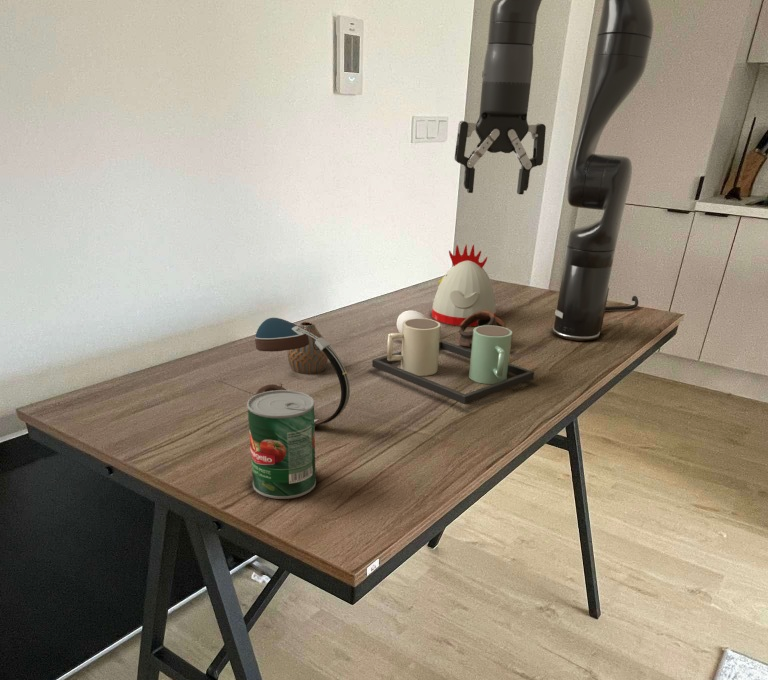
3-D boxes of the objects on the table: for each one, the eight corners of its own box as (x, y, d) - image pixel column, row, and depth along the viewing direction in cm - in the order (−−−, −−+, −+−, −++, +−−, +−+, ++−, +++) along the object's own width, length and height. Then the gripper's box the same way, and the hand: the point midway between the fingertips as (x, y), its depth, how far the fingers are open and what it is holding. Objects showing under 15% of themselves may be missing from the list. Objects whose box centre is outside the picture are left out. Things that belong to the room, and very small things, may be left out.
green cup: (464, 371, 122) (468, 325, 118) (499, 370, 123) (505, 324, 119) (479, 391, 114) (484, 342, 110) (517, 389, 116) (523, 341, 111)
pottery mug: (516, 361, 132) (500, 325, 127) (468, 377, 135) (452, 344, 130) (512, 326, 140) (498, 291, 135) (468, 343, 144) (452, 310, 139)
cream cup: (430, 362, 126) (433, 317, 121) (442, 374, 120) (446, 328, 116) (381, 365, 123) (382, 319, 119) (392, 378, 118) (393, 331, 114)
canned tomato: (240, 491, 87) (233, 408, 81) (271, 464, 93) (267, 385, 87) (298, 504, 84) (295, 420, 79) (326, 476, 91) (325, 396, 85)
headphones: (204, 406, 106) (333, 449, 100) (202, 306, 98) (343, 347, 91) (228, 392, 111) (353, 433, 104) (229, 297, 103) (364, 335, 96)
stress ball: (429, 360, 139) (447, 330, 138) (403, 342, 134) (422, 311, 133) (407, 347, 145) (425, 318, 143) (382, 330, 139) (399, 300, 138)
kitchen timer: (434, 306, 161) (439, 236, 153) (495, 310, 160) (502, 240, 152) (429, 323, 149) (434, 249, 142) (494, 328, 148) (503, 253, 140)
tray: (440, 351, 134) (441, 340, 133) (532, 384, 121) (534, 371, 119) (371, 372, 124) (372, 359, 122) (464, 410, 110) (465, 396, 109)
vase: (335, 371, 123) (335, 321, 119) (316, 383, 118) (314, 332, 113) (301, 364, 126) (299, 315, 121) (280, 376, 120) (278, 325, 116)
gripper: (464, 78, 106) (456, 195, 115) (558, 81, 107) (542, 197, 115) (458, 78, 112) (450, 189, 121) (546, 81, 113) (532, 191, 122)
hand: (495, 193), depth 118 cm, fingers open, 8 cm apart
